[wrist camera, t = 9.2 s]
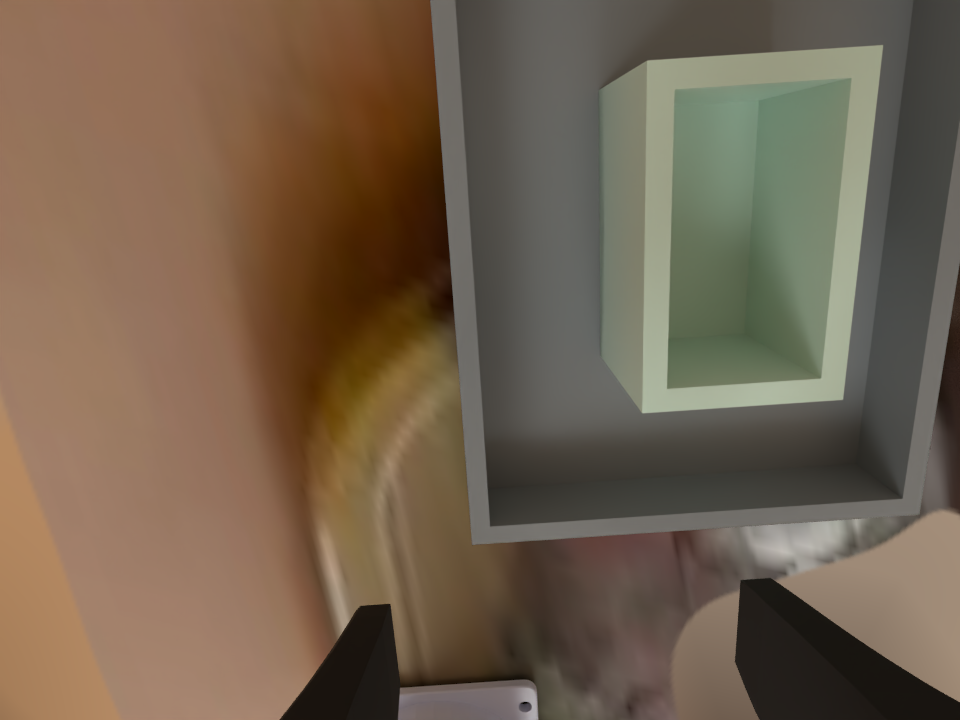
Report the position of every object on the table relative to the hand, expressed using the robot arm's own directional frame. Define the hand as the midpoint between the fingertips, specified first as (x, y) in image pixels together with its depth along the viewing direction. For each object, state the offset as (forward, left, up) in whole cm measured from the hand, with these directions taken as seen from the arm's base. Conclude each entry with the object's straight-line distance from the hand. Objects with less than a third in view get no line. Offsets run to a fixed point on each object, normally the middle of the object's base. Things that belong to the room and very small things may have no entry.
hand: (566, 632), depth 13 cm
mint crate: (+7, -5, -9) cm, 12 cm away
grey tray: (+7, -5, -9) cm, 13 cm away
